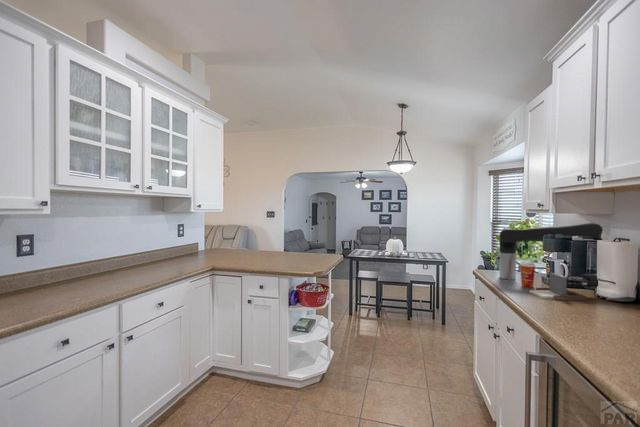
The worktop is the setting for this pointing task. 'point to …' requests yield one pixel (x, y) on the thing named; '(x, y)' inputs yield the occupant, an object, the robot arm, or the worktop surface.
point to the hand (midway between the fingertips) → (559, 280)
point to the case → (562, 297)
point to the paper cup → (527, 274)
